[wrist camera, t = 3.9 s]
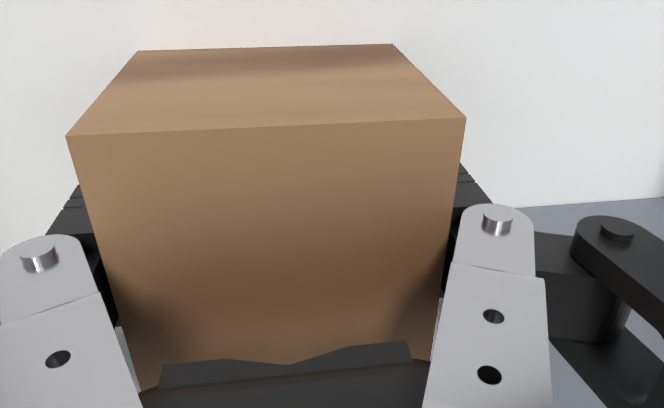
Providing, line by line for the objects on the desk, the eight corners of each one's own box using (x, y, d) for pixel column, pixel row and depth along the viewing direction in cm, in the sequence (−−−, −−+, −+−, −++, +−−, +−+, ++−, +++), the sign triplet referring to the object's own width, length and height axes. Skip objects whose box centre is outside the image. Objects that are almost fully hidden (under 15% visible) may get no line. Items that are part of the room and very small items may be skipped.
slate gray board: (478, 211, 15) (506, 249, 13) (932, 177, 17) (1009, 207, 15) (427, 500, 23) (440, 547, 21) (734, 457, 25) (769, 497, 23)
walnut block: (137, 50, 11) (65, 135, 7) (392, 43, 12) (466, 117, 8) (178, 259, 14) (145, 405, 10) (379, 244, 15) (427, 376, 11)
